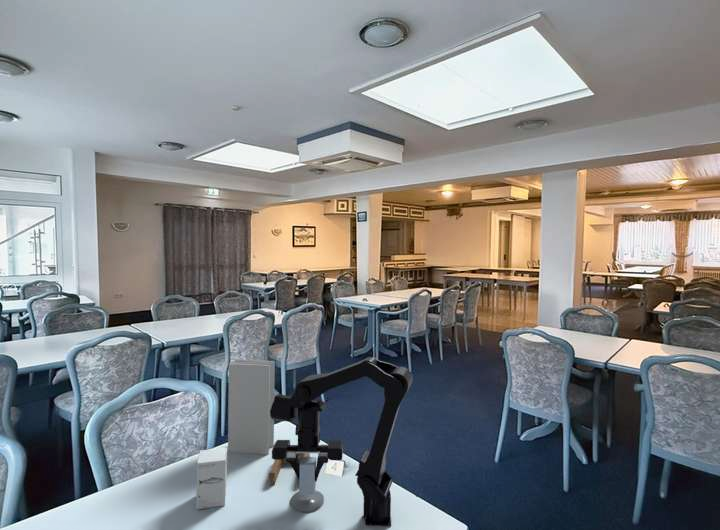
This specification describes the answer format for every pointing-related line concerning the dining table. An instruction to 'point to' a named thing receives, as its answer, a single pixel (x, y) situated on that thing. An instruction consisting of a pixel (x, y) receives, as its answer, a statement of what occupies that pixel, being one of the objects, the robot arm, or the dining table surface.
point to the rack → (277, 467)
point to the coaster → (307, 501)
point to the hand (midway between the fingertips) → (307, 480)
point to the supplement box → (211, 478)
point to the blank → (307, 475)
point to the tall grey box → (251, 406)
